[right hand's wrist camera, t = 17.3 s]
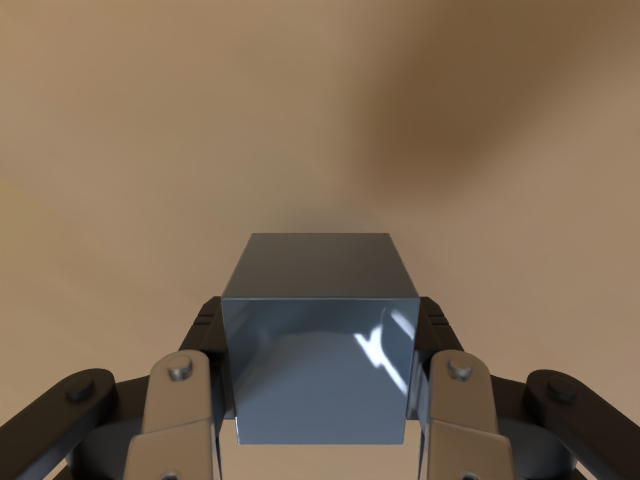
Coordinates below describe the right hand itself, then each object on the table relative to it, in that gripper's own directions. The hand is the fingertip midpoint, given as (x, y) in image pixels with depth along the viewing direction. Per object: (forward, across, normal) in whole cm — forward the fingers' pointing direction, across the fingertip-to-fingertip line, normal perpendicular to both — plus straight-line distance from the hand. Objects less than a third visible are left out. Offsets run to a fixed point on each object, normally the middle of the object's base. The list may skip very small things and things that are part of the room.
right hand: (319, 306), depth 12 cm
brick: (+1, 0, 0) cm, 1 cm away
